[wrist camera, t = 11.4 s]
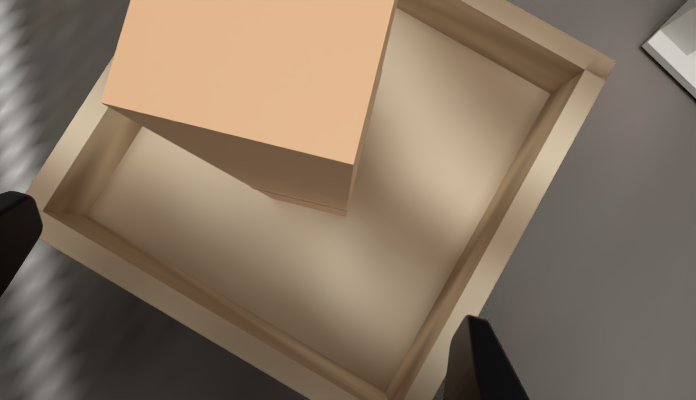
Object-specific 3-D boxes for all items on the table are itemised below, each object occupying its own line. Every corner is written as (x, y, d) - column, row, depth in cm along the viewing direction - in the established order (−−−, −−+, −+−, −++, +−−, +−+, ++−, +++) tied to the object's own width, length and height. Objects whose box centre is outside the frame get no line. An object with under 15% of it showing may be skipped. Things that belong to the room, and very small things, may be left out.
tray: (391, 415, 18) (402, 454, 15) (67, 223, 19) (8, 219, 15) (570, 91, 19) (616, 61, 16) (259, -83, 20) (242, -146, 17)
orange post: (346, 217, 18) (354, 167, 5) (271, 198, 18) (98, 104, 5) (373, 107, 19) (442, -190, 6) (299, 89, 19) (202, -248, 6)
